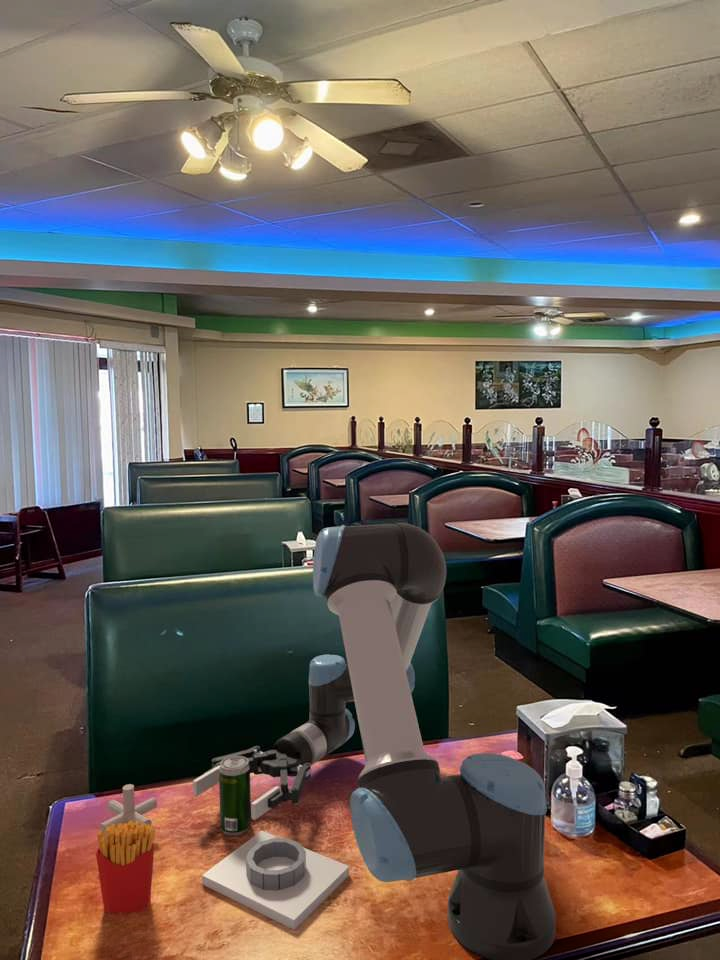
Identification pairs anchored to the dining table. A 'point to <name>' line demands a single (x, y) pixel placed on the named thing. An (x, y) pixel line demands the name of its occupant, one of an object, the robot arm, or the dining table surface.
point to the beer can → (235, 795)
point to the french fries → (126, 866)
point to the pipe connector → (128, 809)
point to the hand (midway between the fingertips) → (222, 799)
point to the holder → (276, 878)
